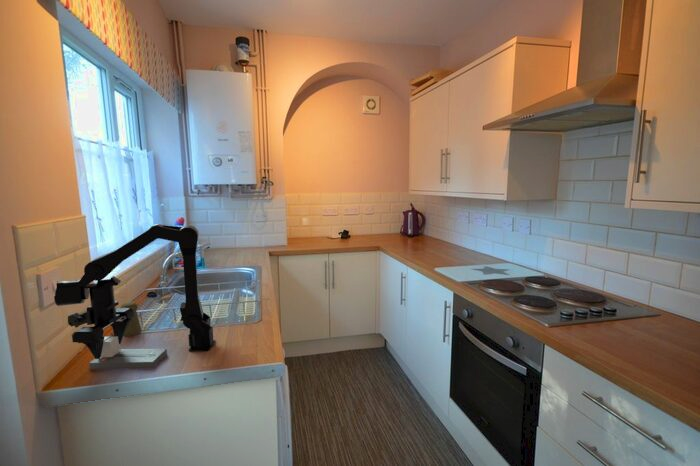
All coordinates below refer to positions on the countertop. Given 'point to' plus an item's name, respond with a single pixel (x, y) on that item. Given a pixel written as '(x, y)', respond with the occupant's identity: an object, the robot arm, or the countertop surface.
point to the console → (130, 359)
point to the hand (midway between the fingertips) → (108, 351)
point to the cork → (134, 323)
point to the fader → (110, 346)
